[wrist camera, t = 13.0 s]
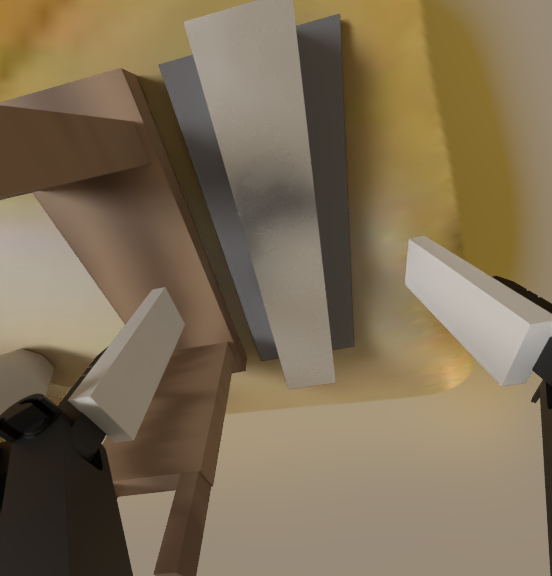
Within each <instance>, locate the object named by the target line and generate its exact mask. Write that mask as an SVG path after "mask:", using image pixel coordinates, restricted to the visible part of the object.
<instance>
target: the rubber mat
mask: <svg viewBox="0 0 552 576" xmlns="http://www.w3.org/2000/svg"><path fill="white" fill-rule="evenodd" d="M296 33H297V42H298V51H299V59H300V68H301V77H302V86H303V95H304V104H305V113H306V122H307V131H308V139H309V148H310V157H311V166H312V175H313V184H314V193H315V202H316V210H317V219H318V228H319V237H320V246H321V255H322V264H323V273H324V282H325V290H326V299H327V308H328V317H329V326H330V335H331V344H332V350H336V349H342V348H348V347H354V329H353V306H352V283H351V259H350V236H349V213H348V189H347V166H346V143H345V120H344V96H343V73H342V50H341V26H340V14H337V15H333V16H330V17H326V18H323V19H319V20H315V21H312V22H308V23H305V24H301V25H298V26H296ZM159 68H160V71H161V74H162V77H163V79H164V82H165V85H166V88H167V91H168V94H169V97H170V100H171V102H172V105H173V108H174V111H175V114H176V117H177V120H178V123H179V126H180V128H181V131H182V134H183V137H184V140H185V143H186V146H187V149H188V152H189V154H190V157H191V160H192V163H193V166H194V169H195V172H196V175H197V177H198V180H199V183H200V186H201V189H202V192H203V195H204V198H205V201H206V203H207V206H208V209H209V212H210V215H211V218H212V221H213V224H214V227H215V229H216V232H217V235H218V238H219V241H220V244H221V247H222V250H223V252H224V255H225V258H226V261H227V264H228V267H229V270H230V273H231V276H232V278H233V281H234V284H235V287H236V290H237V293H238V296H239V299H240V302H241V304H242V307H243V310H244V313H245V316H246V319H247V322H248V325H249V328H250V330H251V333H252V336H253V339H254V342H255V345H256V348H257V351H258V353H259V356H260V359H261V361H265V360H272V359H278V358H279V355H278V352H277V348H276V344H275V341H274V337H273V334H272V330H271V327H270V323H269V320H268V316H267V313H266V309H265V306H264V302H263V299H262V295H261V292H260V288H259V285H258V281H257V278H256V274H255V271H254V267H253V264H252V260H251V257H250V253H249V250H248V246H247V243H246V239H245V236H244V232H243V229H242V225H241V222H240V218H239V215H238V211H237V208H236V204H235V201H234V197H233V194H232V190H231V187H230V183H229V180H228V176H227V173H226V169H225V166H224V162H223V158H222V155H221V151H220V148H219V144H218V141H217V137H216V134H215V130H214V127H213V123H212V120H211V116H210V113H209V109H208V106H207V102H206V99H205V95H204V92H203V88H202V85H201V81H200V78H199V74H198V71H197V67H196V64H195V60H194V57H193V55H191V56H188V57H184V58H181V59H177V60H173V61H170V62H166V63H163V64H159Z"/></svg>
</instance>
